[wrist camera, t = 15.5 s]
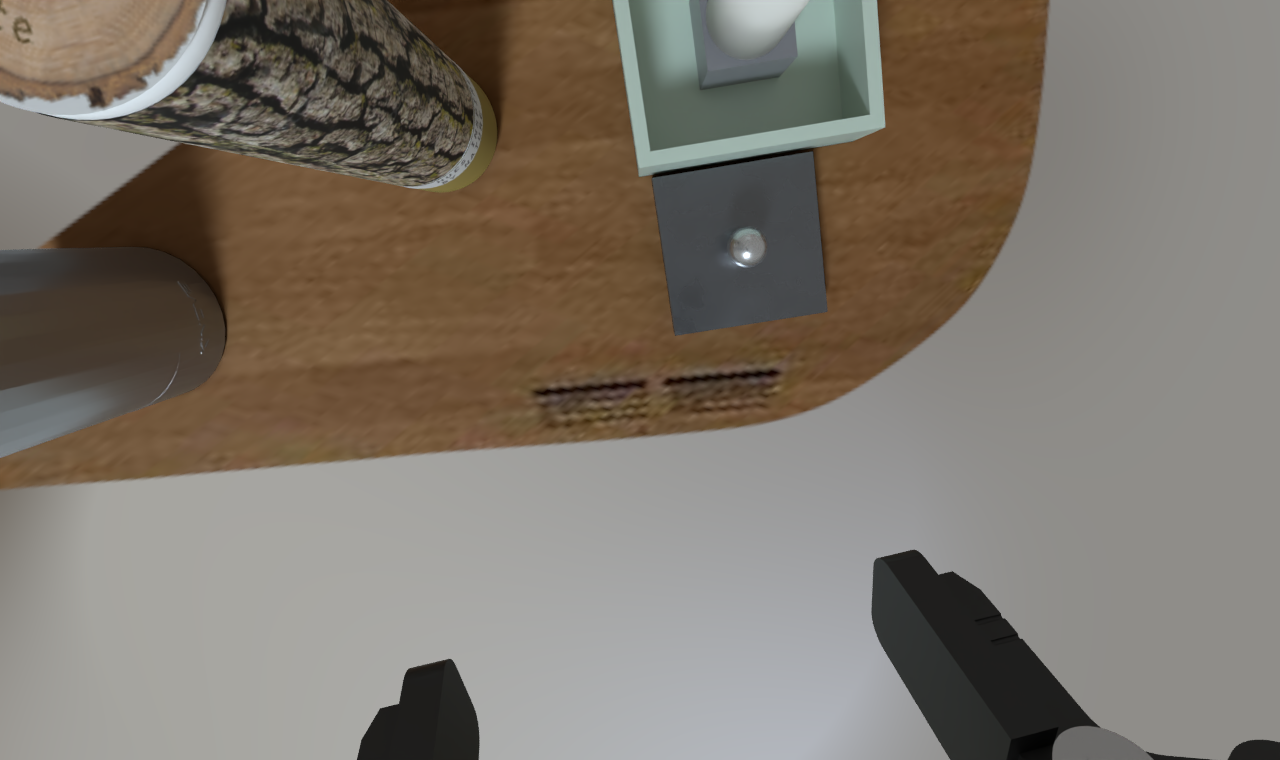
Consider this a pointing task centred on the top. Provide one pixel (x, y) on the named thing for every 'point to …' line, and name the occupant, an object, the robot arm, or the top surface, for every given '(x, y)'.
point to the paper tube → (256, 82)
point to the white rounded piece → (743, 39)
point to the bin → (748, 87)
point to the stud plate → (725, 213)
